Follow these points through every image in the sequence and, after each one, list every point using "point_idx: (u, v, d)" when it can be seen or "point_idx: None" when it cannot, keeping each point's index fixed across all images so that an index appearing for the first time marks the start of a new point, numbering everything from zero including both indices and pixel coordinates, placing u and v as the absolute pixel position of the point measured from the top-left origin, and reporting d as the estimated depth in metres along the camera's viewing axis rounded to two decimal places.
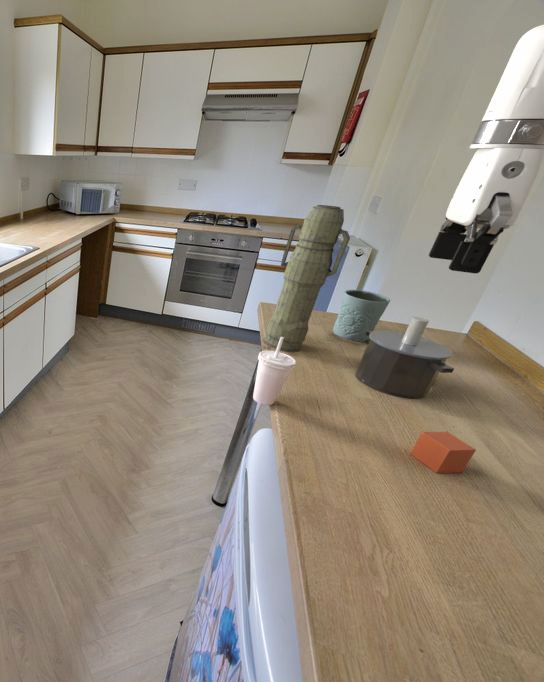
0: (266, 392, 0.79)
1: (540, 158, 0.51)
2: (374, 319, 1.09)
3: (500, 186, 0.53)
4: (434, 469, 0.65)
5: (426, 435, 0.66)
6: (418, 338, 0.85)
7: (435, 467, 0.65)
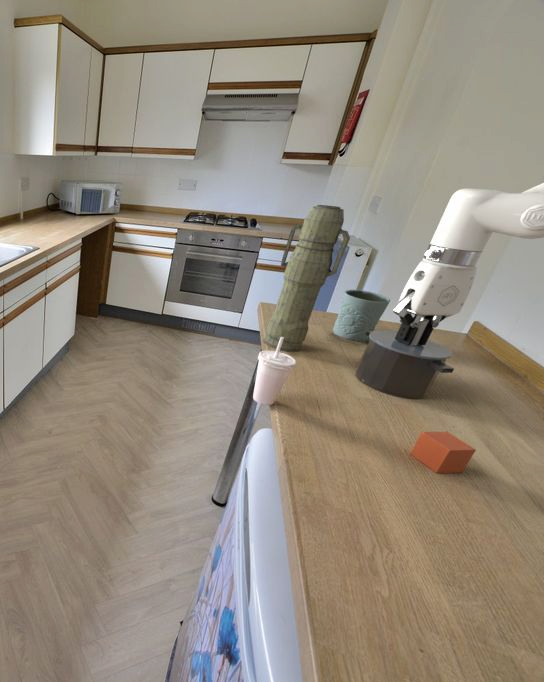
0: (266, 392, 0.79)
1: (435, 271, 0.78)
2: (374, 319, 1.09)
3: (412, 284, 0.82)
4: (434, 469, 0.65)
5: (426, 435, 0.66)
6: (418, 338, 0.85)
7: (435, 467, 0.65)
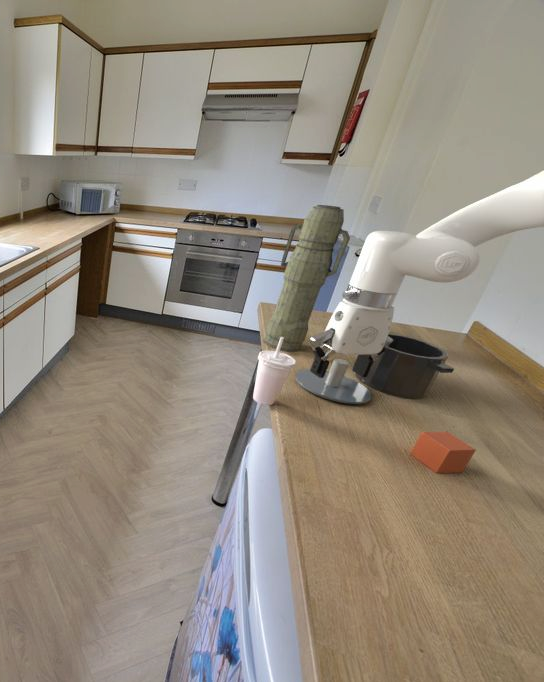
0: (266, 392, 0.79)
1: (352, 312, 0.78)
2: None
3: (332, 324, 0.81)
4: (434, 469, 0.65)
5: (426, 435, 0.66)
6: (339, 380, 0.85)
7: (435, 467, 0.65)
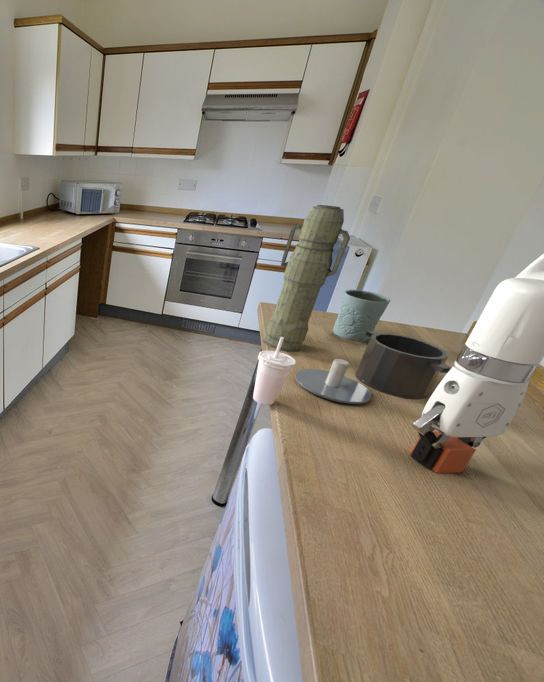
0: (266, 392, 0.79)
1: (473, 386, 0.58)
2: (374, 319, 1.09)
3: (440, 397, 0.62)
4: (434, 469, 0.65)
5: None
6: (339, 380, 0.85)
7: (435, 467, 0.65)
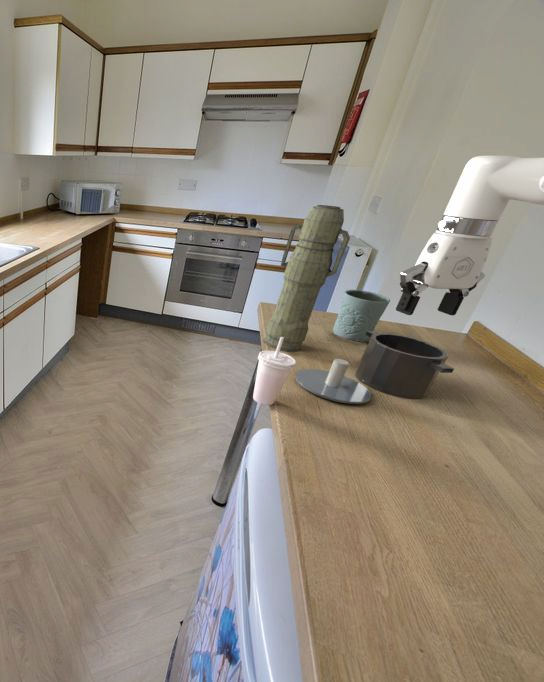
0: (266, 392, 0.79)
1: (449, 242, 0.76)
2: (374, 319, 1.09)
3: (424, 257, 0.79)
4: None
5: None
6: (339, 380, 0.85)
7: None
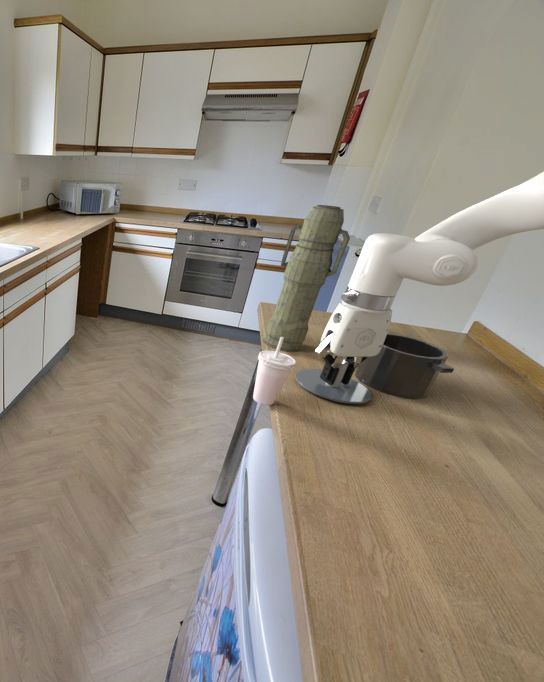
0: (266, 392, 0.79)
1: (350, 315, 0.78)
2: None
3: (331, 326, 0.82)
4: None
5: None
6: (339, 380, 0.85)
7: None
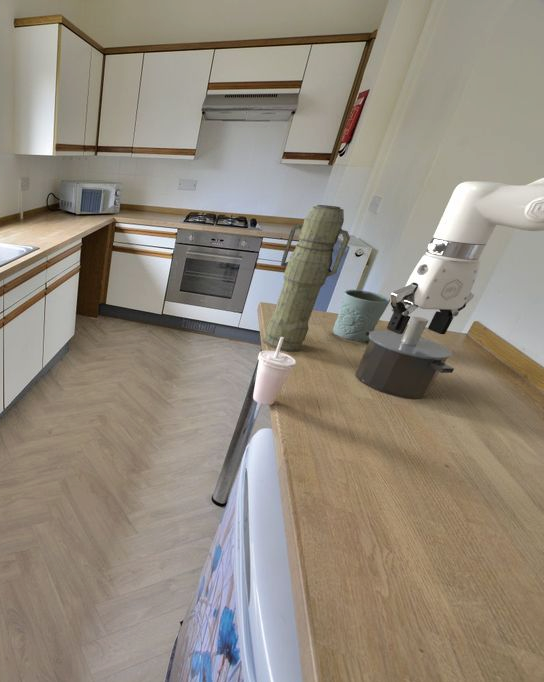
0: (266, 392, 0.79)
1: (438, 265, 0.77)
2: (374, 319, 1.09)
3: (415, 278, 0.81)
4: None
5: None
6: (417, 338, 0.85)
7: None
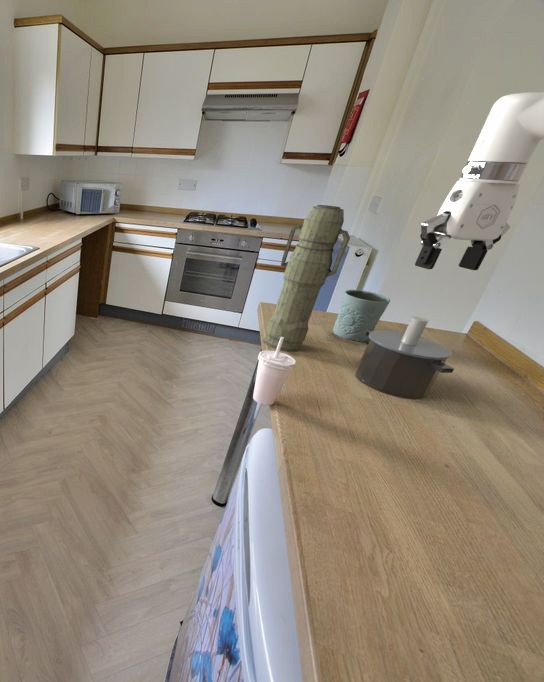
0: (266, 392, 0.79)
1: (474, 188, 0.72)
2: (374, 319, 1.09)
3: (447, 207, 0.75)
4: None
5: None
6: (417, 338, 0.85)
7: None
